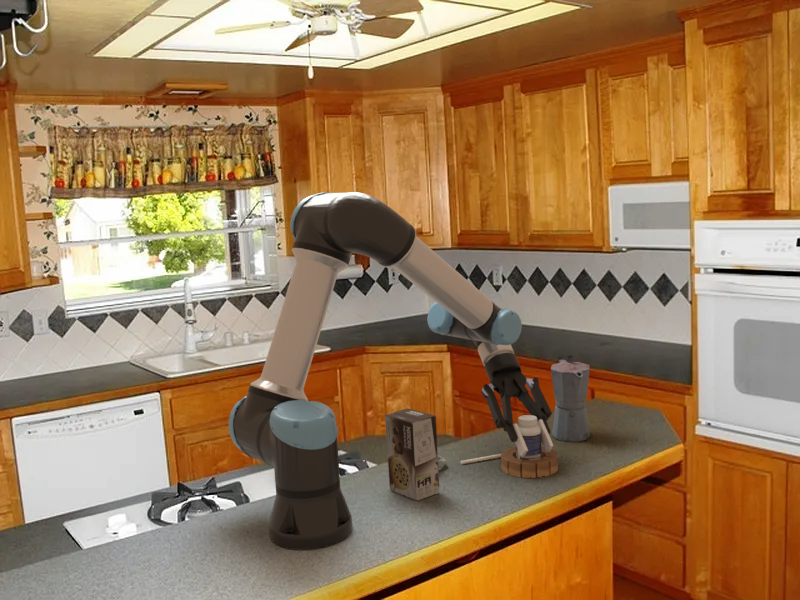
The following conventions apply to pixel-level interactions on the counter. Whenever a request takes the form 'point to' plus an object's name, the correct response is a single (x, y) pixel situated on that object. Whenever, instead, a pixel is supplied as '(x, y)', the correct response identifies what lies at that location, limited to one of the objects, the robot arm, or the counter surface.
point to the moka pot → (570, 400)
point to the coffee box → (412, 453)
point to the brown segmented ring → (529, 464)
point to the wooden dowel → (481, 459)
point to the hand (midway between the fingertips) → (537, 451)
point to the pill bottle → (530, 437)
